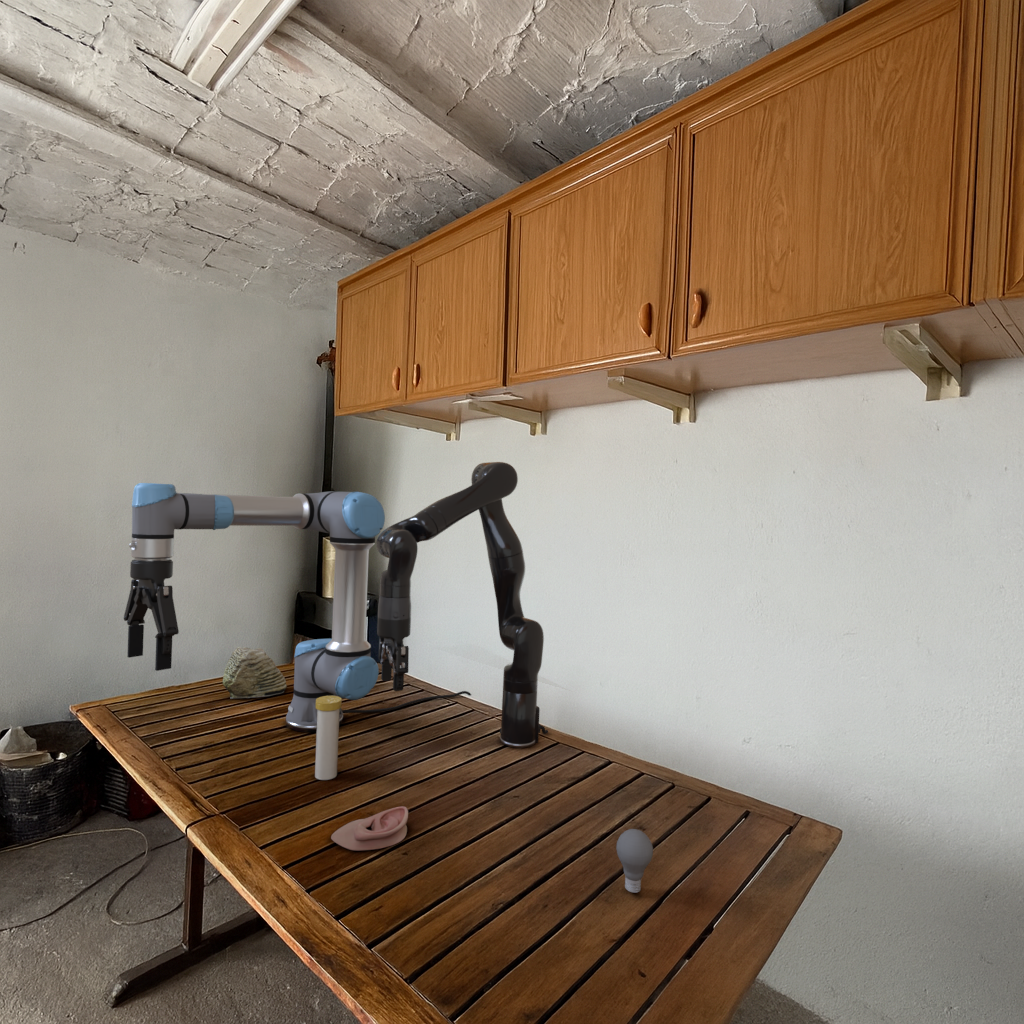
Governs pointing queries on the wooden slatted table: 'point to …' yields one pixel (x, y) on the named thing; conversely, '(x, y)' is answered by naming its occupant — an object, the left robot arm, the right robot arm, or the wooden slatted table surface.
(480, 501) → the right robot arm
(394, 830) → the anatomical model
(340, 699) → the lid
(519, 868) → the wooden slatted table surface
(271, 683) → the fossil
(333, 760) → the jar
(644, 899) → the wooden slatted table surface
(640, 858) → the light bulb
